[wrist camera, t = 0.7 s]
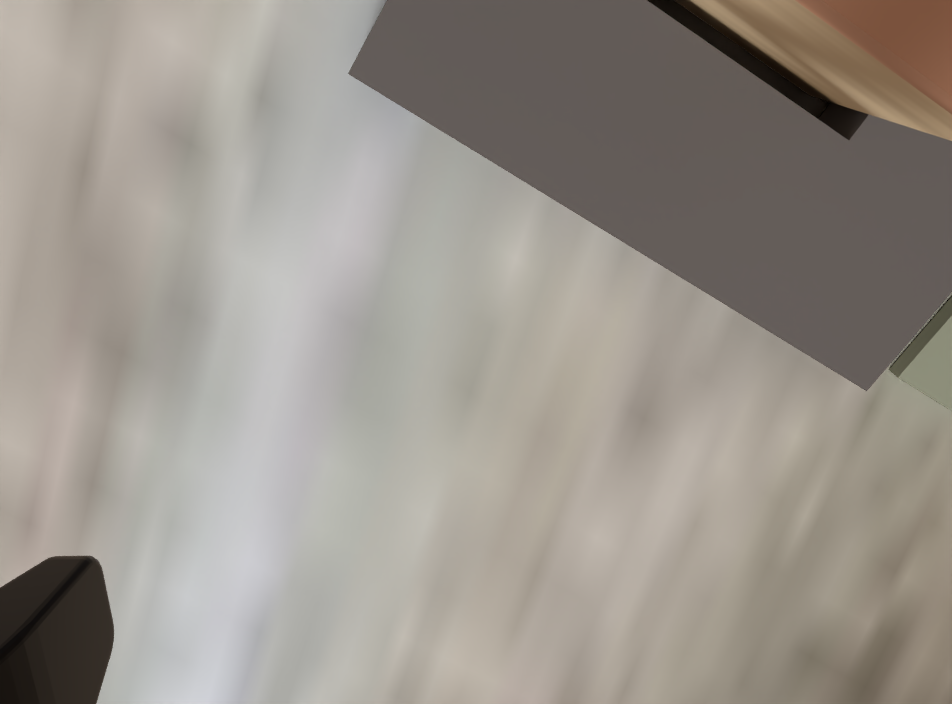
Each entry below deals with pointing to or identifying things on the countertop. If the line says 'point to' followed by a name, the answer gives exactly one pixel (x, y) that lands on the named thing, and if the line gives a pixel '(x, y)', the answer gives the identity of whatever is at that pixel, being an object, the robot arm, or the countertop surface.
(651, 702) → the countertop surface
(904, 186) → the grey flat square slab
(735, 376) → the countertop surface
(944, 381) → the rubber mat
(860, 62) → the wooden plug
